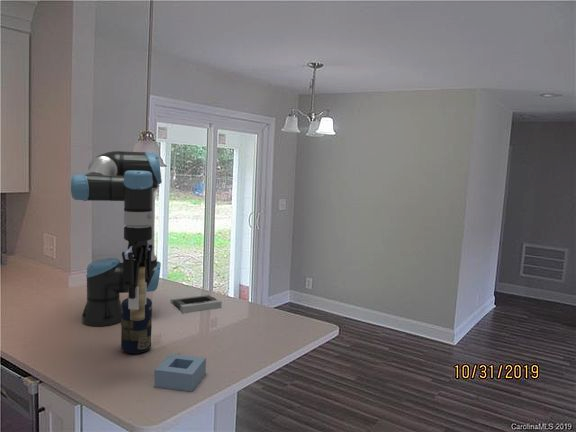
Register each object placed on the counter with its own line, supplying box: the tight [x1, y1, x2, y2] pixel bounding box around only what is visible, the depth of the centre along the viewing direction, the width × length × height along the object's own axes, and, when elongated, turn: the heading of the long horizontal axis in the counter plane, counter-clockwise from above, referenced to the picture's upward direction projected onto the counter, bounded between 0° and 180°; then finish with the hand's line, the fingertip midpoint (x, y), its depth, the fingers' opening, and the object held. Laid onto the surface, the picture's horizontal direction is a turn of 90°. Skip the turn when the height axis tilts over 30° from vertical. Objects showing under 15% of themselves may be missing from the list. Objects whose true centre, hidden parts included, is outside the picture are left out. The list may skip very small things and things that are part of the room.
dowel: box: [130, 266, 145, 321], centre depth 130 cm, size 4×4×15 cm
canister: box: [120, 297, 153, 355], centre depth 149 cm, size 10×10×18 cm
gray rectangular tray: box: [169, 294, 223, 314], centre depth 198 cm, size 17×5×16 cm
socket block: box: [153, 353, 207, 393], centre depth 131 cm, size 11×11×5 cm
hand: (137, 306), depth 131 cm, fingers closed on dowel, 4 cm apart
